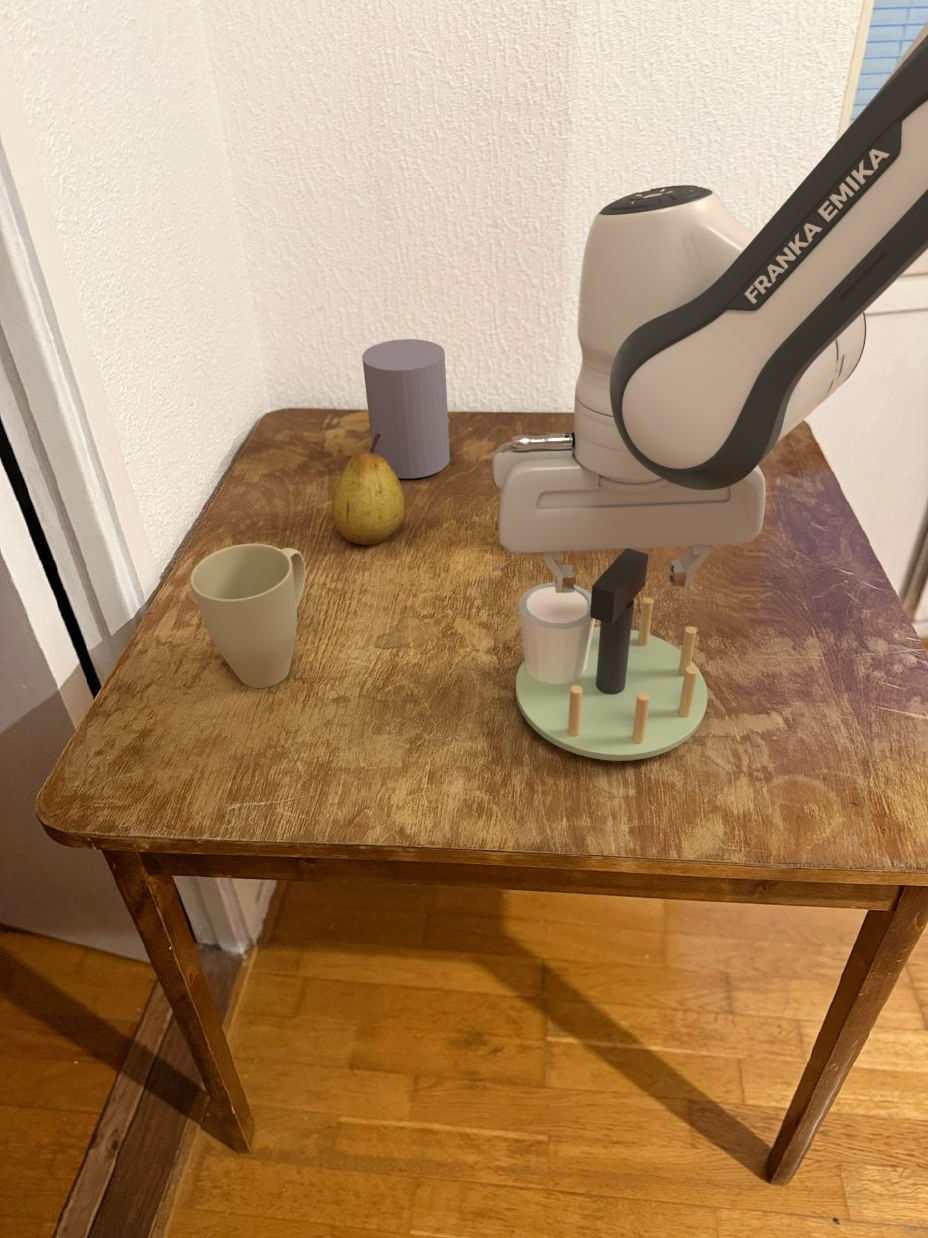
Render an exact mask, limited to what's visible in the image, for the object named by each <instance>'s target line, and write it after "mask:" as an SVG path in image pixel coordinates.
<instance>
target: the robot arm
mask: <svg viewBox="0 0 928 1238" xmlns="http://www.w3.org/2000/svg"><path fill="white" fill-rule="evenodd" d="M927 251H928V20H927V21H926V22H925V24H924V26H923V27H922V28H921V30H920V31H919V33H918V34H917V35H916V37H915V39H914V40H913V41H912V42H911V44H910V45H909V46H908V49H907V50H906V51H905V52H904V54H903V56H902V57H901V58H900V60H899V61H898V62H897V64H896V65H895V67H894V68H893V70H892V71H891V72H890V73H889V75H888V76H887V78H886V79H885V81H884V83H883V84H882V85H881V87H880V88H879V89H878V91H877V92H876V94H875V95H874V96H873V97H872V99H871V100H870V101H869V102H868V104H867V105H866V106H865V107H864V108H863V109H862V111H861V112H860V113H859V114H858V116H857V117H856V118H855V119H854V120H853V121H852V122H851V124H850V125H849V126H848V128H846V130H845V131H843V133H842V135H841V136H840V137H839V139H838V140H836V142H835V143H834V144H833V146H831V148H830V149H829V150H828V151H827V152H826V153H825V155H824V156H823V157H822V159H821V160H820V161H819V162H818V163H817V164H816V165H815V166H814V168H813V169H812V170H811V171H810V172H809V174H807V176H806V177H805V178H804V180H803V181H802V182H800V184H799V185H798V187H796V189H794V191H793V192H792V194H790V196H789V197H788V198H787V199H786V200H785V201H784V203H783V204H782V205H781V206H780V208H778V209H777V211H776V212H775V213H774V214H773V215H772V216H771V218H770V219H769V220H768V221H767V223H765V225H764V226H763V227H762V228H761V230H760V231H759V232H758V233H757V232H755V231H753V230H752V229H751V228H749V227H748V226H746V225H745V224H743V223H742V221H740V220H739V219H737V218H736V217H735V216H734V215H733V214H732V213H731V212H730V211H729V209H727V207H726V205H725V204H724V202H723V201H722V200H721V197H719V195H718V194H717V193H716V192H715V191H713V190H711V189H709V188H705V187H703V186H698V185H693V184H692V185H691V184H690V185H689V184H688V185H687V184H683V185H682V184H679V185H670V186H662V187H655V188H650V189H649V190H645V191H640V192H639V191H637V192H634V193H630V194H628V195H625V196H623V197H620V198H618V199H616V200H614V201H612V202H610V203H608V204H607V205H605V206H604V207H603V208H601V210H600V211H599V212H598V213H597V214H596V215H595V216H594V218H593V220H592V222H591V225H590V227H589V229H588V234H587V237H586V240H585V246H584V251H583V257H582V263H581V264H582V265H581V271H580V280H579V290H578V291H579V292H578V307H577V328H576V329H577V332H576V333H577V338H578V342H579V346H580V351H581V365H580V370H579V373H578V376H577V379H576V382H575V386H574V389H575V390H574V407H573V410H574V411H573V431H572V432H571V433H569V432H567V433H551V434H545V435H535V436H533V435H532V436H531V435H528V434H527V435H526V434H524V435H517V436H513V437H512V438H511V441H508V442H505V443H503V444H502V445H500V446H499V447H497V449H496V450H495V451H494V453H493V454H492V459H491V478H492V481H493V484H494V485H495V487H496V488H497V489H498V490H499V492H498V493H499V494H498V501H497V502H498V503H497V537H498V543H499V544H500V545H501V546H502V547H503V549H504V550H505V551H507V552H508V553H509V554H531V553H542V559H543V563H544V564H545V565H546V567H547V568H548V569H549V571H550V572H551V574H552V575H553V576H554V578H553V579H554V583H555V590H556V593H570V592H574V585H576V584H575V581H576V580H575V579H576V576H575V571H574V566H573V564H563V563H562V561H561V560H562V553H563V552H579V551H581V552H582V551H600V550H601V551H603V550H604V551H605V550H625V549H629V548H630V549H650V548H672V547H673V548H677V547H688V548H687V550H686V551H685V552H684V553H683V555H682V557H680V559H671V560H670V562H669V571H668V581H669V583H670V587H671V589H688V588H691V587H692V583H693V582H692V581H693V574H694V572H696V571H697V570H698V568H700V566H701V565H702V564H703V563H704V562H705V561H706V559H708V558H709V556H710V555H711V550H712V546H720V545H745V544H749V543H751V542H752V541H754V539H755V538H757V536H758V535H760V533H761V532H762V528H763V524H764V520H765V519H764V517H765V511H766V510H765V509H766V495H767V494H766V491H767V490H766V487H767V486H766V479H765V476H764V473H763V472H762V470H761V468H760V466H759V464H760V463H761V462H762V461H763V460H764V459H765V458H766V456H767V455H768V454H770V452H771V451H772V450H773V449H774V447H775V446H776V445H777V444H778V443H779V442H780V441H781V440H783V439H784V438H785V437H786V436H787V435H788V434H789V433H791V431H793V430H794V429H795V428H796V427H797V426H798V425H800V423H802V422H803V421H804V420H805V419H806V418H807V417H808V416H809V415H811V414H812V413H813V412H814V411H815V410H816V409H817V408H818V407H820V406H821V405H822V404H823V403H824V402H825V401H827V400H828V399H829V398H830V397H831V396H832V395H833V394H834V393H835V392H836V391H837V390H838V389H839V388H840V387H841V386H842V385H843V384H845V382H846V381H847V380H848V379H849V378H850V377H851V375H853V373H854V372H855V370H856V369H857V367H858V365H859V363H860V361H861V359H862V356H863V353H864V349H865V346H866V341H867V340H866V339H867V318H866V313H865V312H866V311H867V310H868V309H869V308H870V307H871V306H872V305H873V304H874V303H876V301H877V300H878V299H879V298H880V297H881V296H882V295H883V294H884V293H885V292H886V291H887V290H888V289H889V288H891V286H892V285H893V284H894V283H896V282H897V280H899V278H900V277H902V275H903V274H905V272H906V271H908V270H909V269H910V268H911V267H912V266H913V265H914V264H915V263H916V262H917V261H918V260H919V259H920V258H921V257H922V256H923V255H924V254H926V252H927Z"/></svg>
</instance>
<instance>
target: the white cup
mask: <svg viewBox="0 0 928 1238" xmlns="http://www.w3.org/2000/svg"><path fill="white" fill-rule="evenodd" d="M591 595H592V592H590V591H588V590H586V589H584V588H583V587H582V586H580V585H576V584H574V592H570V593H556V590H555V582H551V581H550V582H545V583H542V584H538V585H535V586H533V587H531V588H530V589H528V590H526V591H524V593H523V594H522V596H521V597H520V599H519V606H518V608H519V610H518V611H519V618H520V629H521V636H522V637H521V638H522V646H523V656H524V659H525V666H526V669H527V670H528V672H529V674H530V675H531V676H533V677H534V678H536V679H537V680H538V681H541V682H545V683H548V684H565V683H569V682H573V681H575V680H576V679H578V678H579V677H581V676H582V674H583V673H584V671H585V669H586V666H587V660H588V655H589V650H590V644H591V639H592V634H593V629H594V627H595V623H596V619H593V618H590V610H591Z"/></svg>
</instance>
